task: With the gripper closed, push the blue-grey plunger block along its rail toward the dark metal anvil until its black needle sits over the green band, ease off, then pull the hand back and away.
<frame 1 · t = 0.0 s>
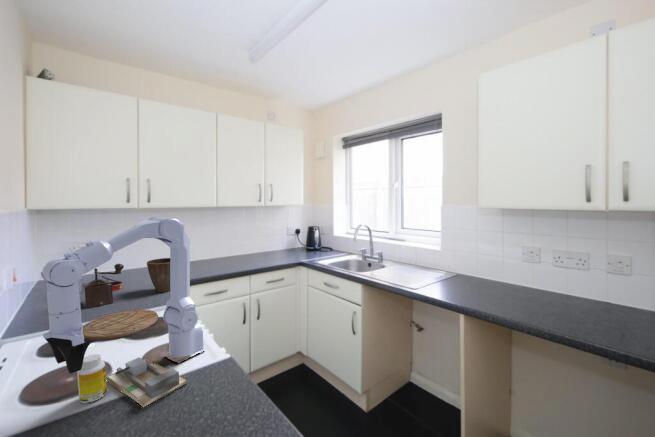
hand: (69, 366, 73), 10 cm above the countertop, tool pointing down, fingers open, 7 cm apart
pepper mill: (104, 302, 146), on the countertop
plant pot: (164, 290, 163), on the countertop
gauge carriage: (129, 370, 84), point 3 cm above the countertop, slide at 0.0 cm
gauge base: (145, 382, 83), on the countertop
supplement bottle: (93, 397, 77), on the countertop
trivet: (121, 327, 120), on the countertop
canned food: (112, 289, 166), on the countertop
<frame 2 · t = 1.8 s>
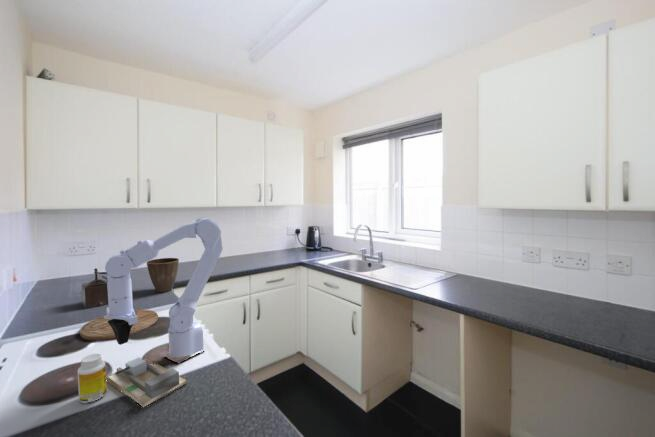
hand: (122, 342, 89), 8 cm above the countertop, tool pointing down, fingers closed
nothing on the countertop moved.
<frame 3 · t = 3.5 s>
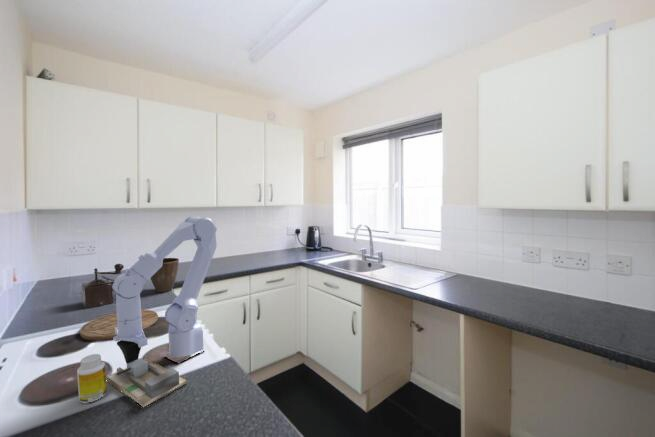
hand: (132, 364, 87), 3 cm above the countertop, tool pointing down, fingers closed
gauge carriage: (131, 370, 84), point 3 cm above the countertop, slide at 0.7 cm, touching gripper
everything else where it was.
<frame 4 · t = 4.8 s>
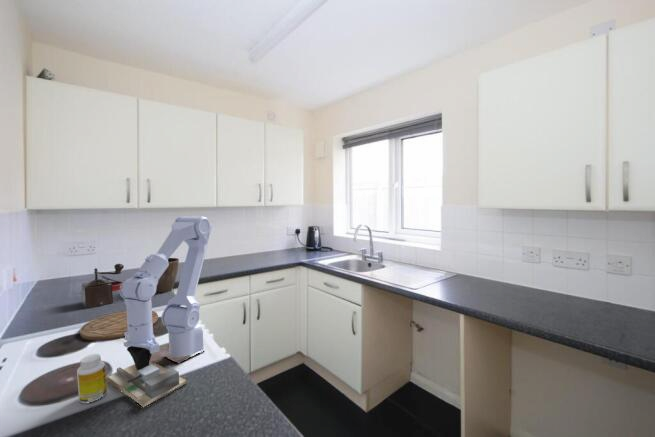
hand: (142, 370, 84), 3 cm above the countertop, tool pointing down, fingers closed
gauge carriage: (142, 377, 81), point 3 cm above the countertop, slide at 6.7 cm, touching gripper
everything else where it was.
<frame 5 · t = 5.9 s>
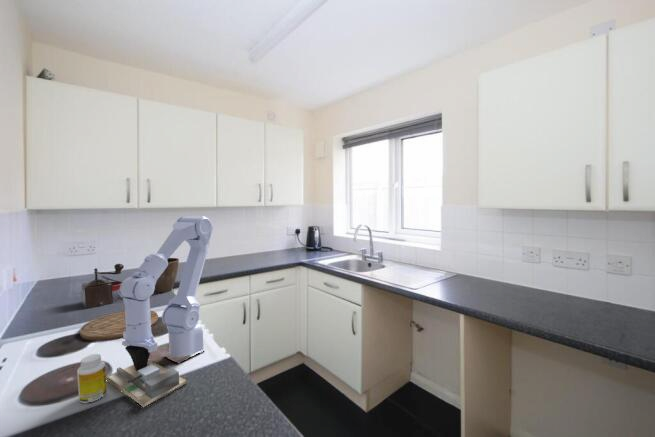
hand: (141, 369, 84), 3 cm above the countertop, tool pointing down, fingers closed
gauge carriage: (142, 378, 81), point 3 cm above the countertop, slide at 6.8 cm
everything else where it was.
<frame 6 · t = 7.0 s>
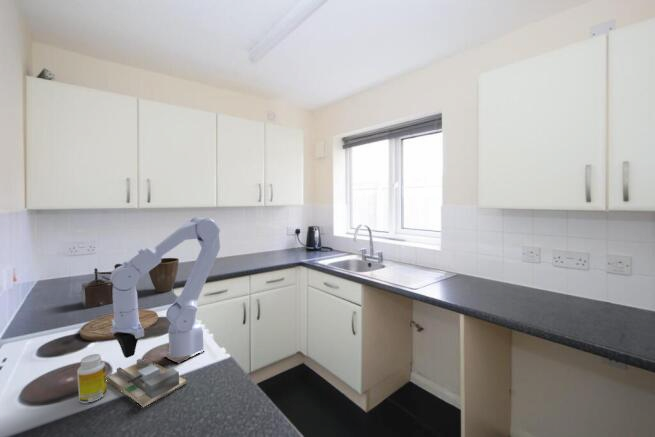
hand: (129, 355, 88), 5 cm above the countertop, tool pointing down, fingers closed
nothing on the countertop moved.
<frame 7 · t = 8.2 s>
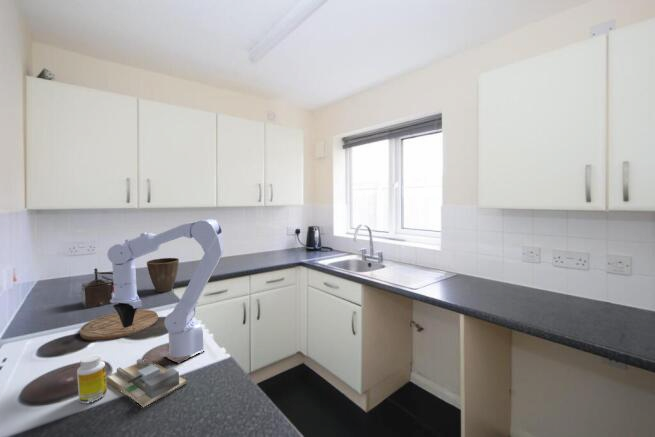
hand: (127, 326, 94), 10 cm above the countertop, tool pointing down, fingers closed
nothing on the countertop moved.
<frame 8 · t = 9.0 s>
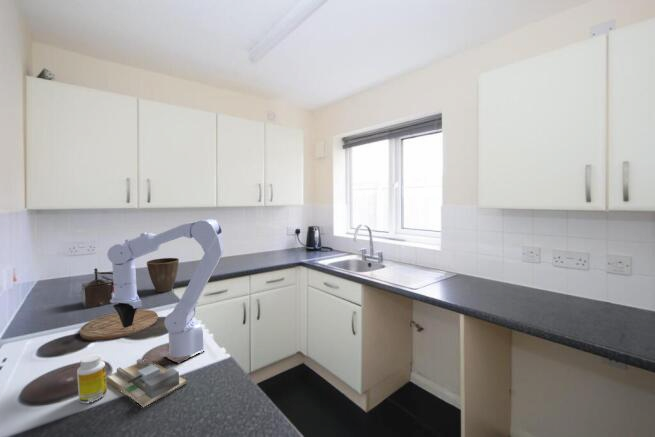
hand: (127, 326, 94), 10 cm above the countertop, tool pointing down, fingers closed
nothing on the countertop moved.
at the end: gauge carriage slide at 6.8 cm; supplement bottle moved 0.2 cm from its start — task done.
